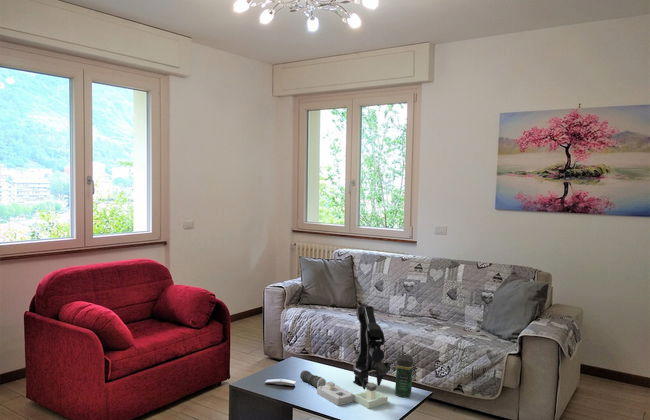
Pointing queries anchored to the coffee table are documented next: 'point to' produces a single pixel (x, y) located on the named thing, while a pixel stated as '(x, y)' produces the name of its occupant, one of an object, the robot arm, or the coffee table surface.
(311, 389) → the coffee table surface
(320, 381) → the flashlight
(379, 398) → the parts tray
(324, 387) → the fuse block
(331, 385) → the block
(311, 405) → the coffee table surface
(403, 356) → the coffee jar
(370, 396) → the block
